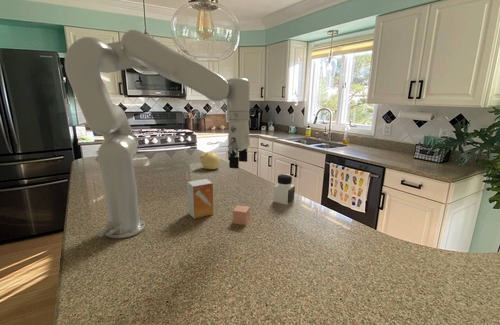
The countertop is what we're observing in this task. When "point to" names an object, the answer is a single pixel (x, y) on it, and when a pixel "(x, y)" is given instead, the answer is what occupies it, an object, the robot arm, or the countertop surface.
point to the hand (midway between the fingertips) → (238, 164)
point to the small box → (200, 198)
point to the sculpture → (210, 160)
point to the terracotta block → (241, 215)
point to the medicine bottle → (284, 190)
